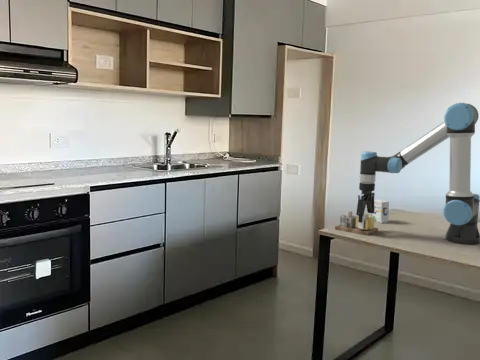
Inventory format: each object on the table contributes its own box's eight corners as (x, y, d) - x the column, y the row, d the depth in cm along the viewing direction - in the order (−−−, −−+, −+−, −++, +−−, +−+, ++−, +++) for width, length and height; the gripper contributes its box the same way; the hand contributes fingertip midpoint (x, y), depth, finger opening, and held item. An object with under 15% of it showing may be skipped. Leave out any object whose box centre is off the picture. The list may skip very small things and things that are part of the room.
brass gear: (362, 225, 257) (363, 215, 256) (375, 228, 251) (376, 218, 250) (353, 227, 251) (354, 217, 251) (366, 230, 246) (367, 220, 245)
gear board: (378, 231, 253) (379, 213, 252) (367, 235, 244) (368, 217, 243) (346, 225, 264) (347, 208, 263) (335, 229, 255) (335, 212, 254)
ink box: (388, 222, 273) (389, 201, 272) (380, 223, 272) (382, 202, 270) (379, 219, 281) (380, 198, 280) (371, 220, 279) (372, 199, 278)
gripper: (369, 179, 258) (366, 222, 261) (350, 183, 242) (348, 229, 245) (383, 181, 253) (380, 224, 257) (364, 185, 238) (362, 231, 241)
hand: (364, 227), depth 251 cm, fingers closed on brass gear, 8 cm apart
